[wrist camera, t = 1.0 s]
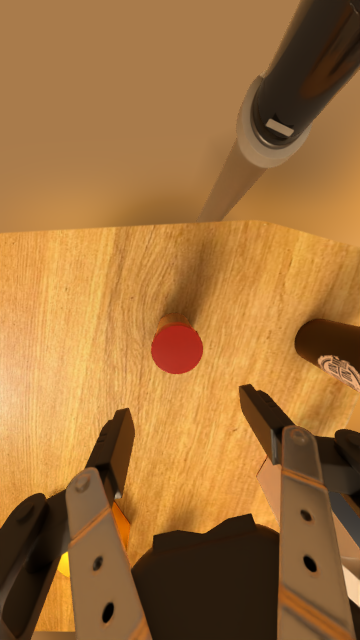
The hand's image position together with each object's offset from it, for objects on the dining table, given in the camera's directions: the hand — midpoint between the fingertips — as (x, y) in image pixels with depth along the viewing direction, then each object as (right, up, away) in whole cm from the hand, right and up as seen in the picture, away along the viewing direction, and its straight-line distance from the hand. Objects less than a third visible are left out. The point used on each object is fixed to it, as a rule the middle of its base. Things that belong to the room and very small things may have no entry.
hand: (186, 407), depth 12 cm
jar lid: (-1, +2, +10) cm, 10 cm away
